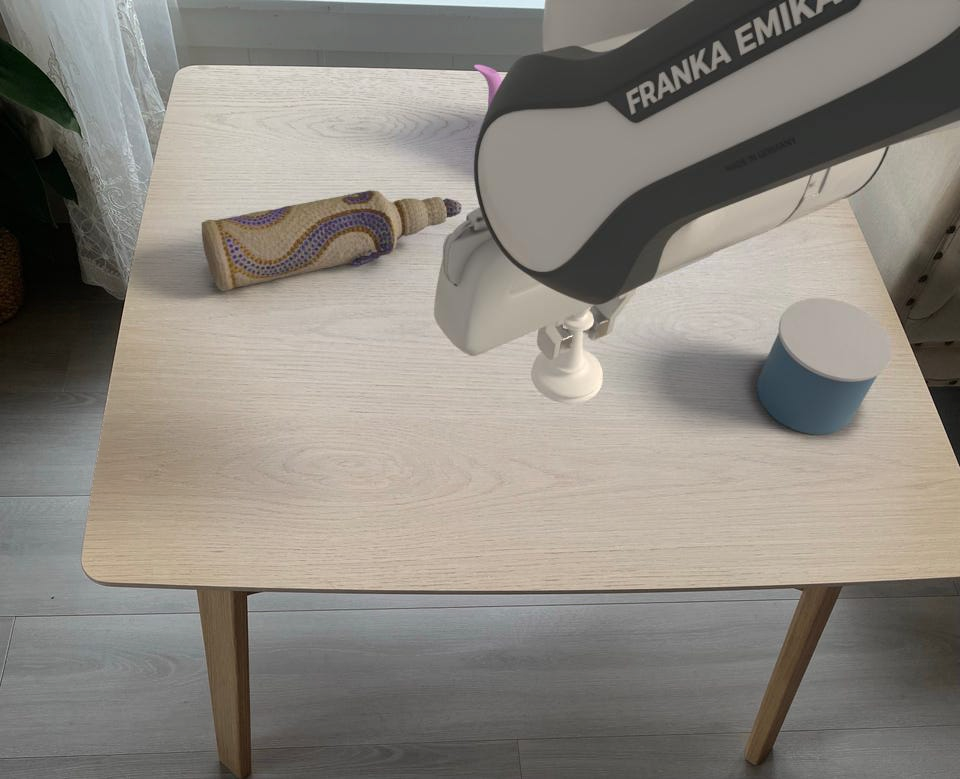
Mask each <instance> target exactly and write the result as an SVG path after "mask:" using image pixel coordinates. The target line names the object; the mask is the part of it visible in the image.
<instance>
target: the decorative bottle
mask: <svg viewBox="0 0 960 779" xmlns="http://www.w3.org/2000/svg"><path fill="white" fill-rule="evenodd" d="M462 208H463V207H462V204H461V203H460V202H459V201H458V200H454V199H451V198H447V197H446V198H444V199H443V198H442V197H440V196H433V197H431V198H430V197H428V198H424V199H418V198H410V197H409V198H402V199H397V200H395V201H392V202H391V201H390V200H389V199H387V198H386V196H384V195H383V194H382V193H381V191H379V190H372V189H369V190H366V191H360V192H354V193H348V194H344V195H339V196H335V197H334V196H333V197H330V198H324V199H318V200H314V201H308V202H303V203H299V204H293V205H285V206H282V207H279V208H274V209H268V210H267V209H266V210H261V211H254V212H250V213H246V214H241V215H238V216H237V215H236V216H231V217H227V218H226V217H225V218H220V219H208V220H205V221H202V222H201V224H200V226H201V239H202V240H201V241H202V245H203V251H204V254H205V257H206V261H207V264H208V269H209V271H210V275H211V276H212V279H213V281H214V283H215V286H216V288H217V289H218V290H219V291H221V292H225V291H230V290H232V289H234V288H238V287H243V286H244V287H246V286H250V285H253V284H254V285H255V284H259V283H260V284H261V283H264V282H265V283H266V282H269V281H273V280H276V279H284V278H287V277H290V276H296V275H300V274H305V273H309V272H315V271H319V270H323V269H327V268H332V267H336V266H341V265H346V264H351V265H352V266H357V267H361V266H363V265H366V264H368V263H370V262H372V261H373V260H375V259H379V258H380V257H382V256H383V257H384V256H388V255H390V254H391V253H393V252H394V251H395V249H396V247H397V243H398V240H399V239H400V238H401V237H403V236H404V237H407V236H411V235H415V234H417V233H419V232H422V231H423V230H424V229H426V228H427V227H430V226H432V227H434V226H437V225H441V224H443V223H444V224H445V222H446V220H447V218H453V217H456V216H458V215H460V213H461V211H462Z"/></svg>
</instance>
